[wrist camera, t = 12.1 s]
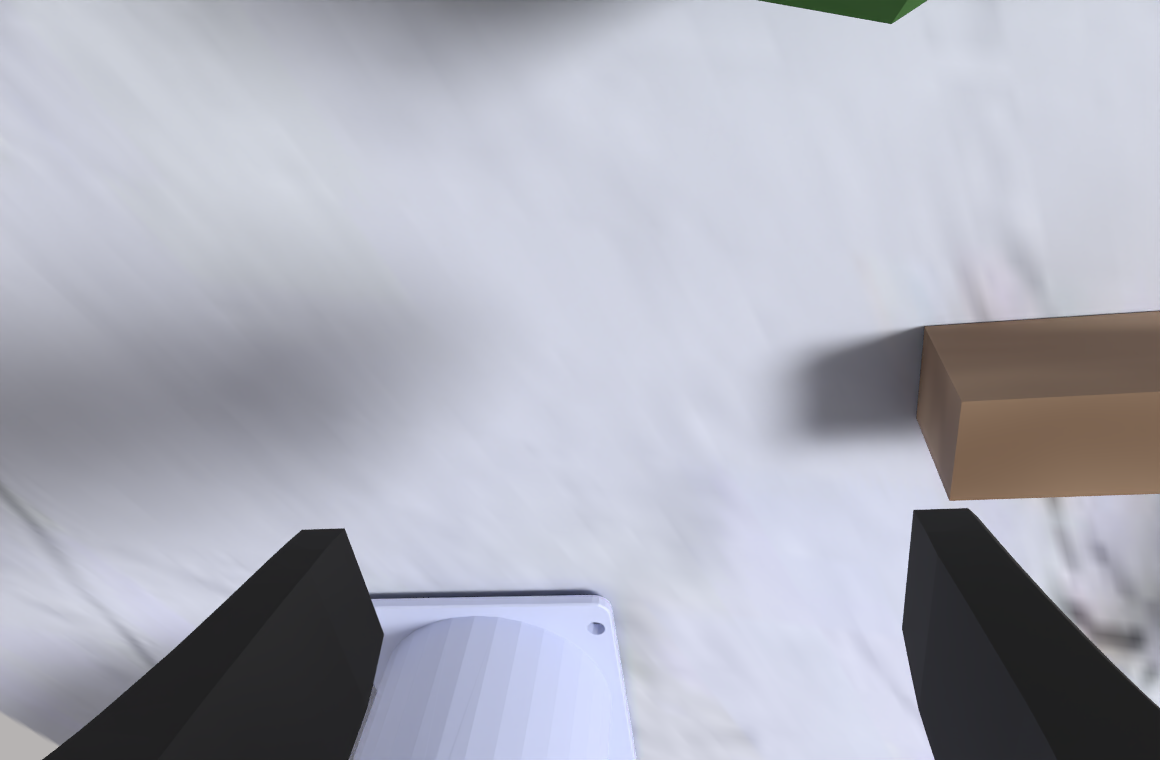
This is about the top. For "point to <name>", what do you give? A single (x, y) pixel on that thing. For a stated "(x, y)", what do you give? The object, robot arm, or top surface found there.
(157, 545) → the top surface
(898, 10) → the bell pepper
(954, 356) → the wall board
